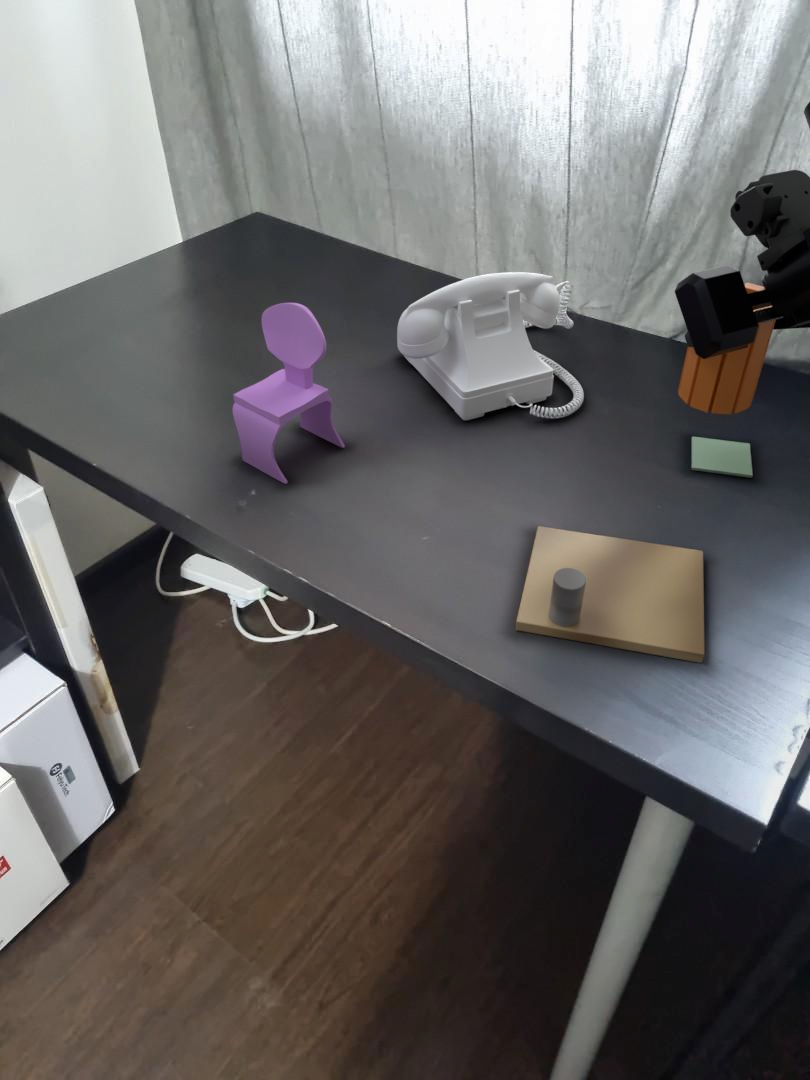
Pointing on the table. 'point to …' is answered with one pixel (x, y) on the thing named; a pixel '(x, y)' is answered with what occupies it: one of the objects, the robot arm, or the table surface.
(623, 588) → the ring board
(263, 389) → the toy chair
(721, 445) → the grey flat piece
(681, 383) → the pen holder
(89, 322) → the table surface
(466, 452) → the table surface
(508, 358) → the telephone
